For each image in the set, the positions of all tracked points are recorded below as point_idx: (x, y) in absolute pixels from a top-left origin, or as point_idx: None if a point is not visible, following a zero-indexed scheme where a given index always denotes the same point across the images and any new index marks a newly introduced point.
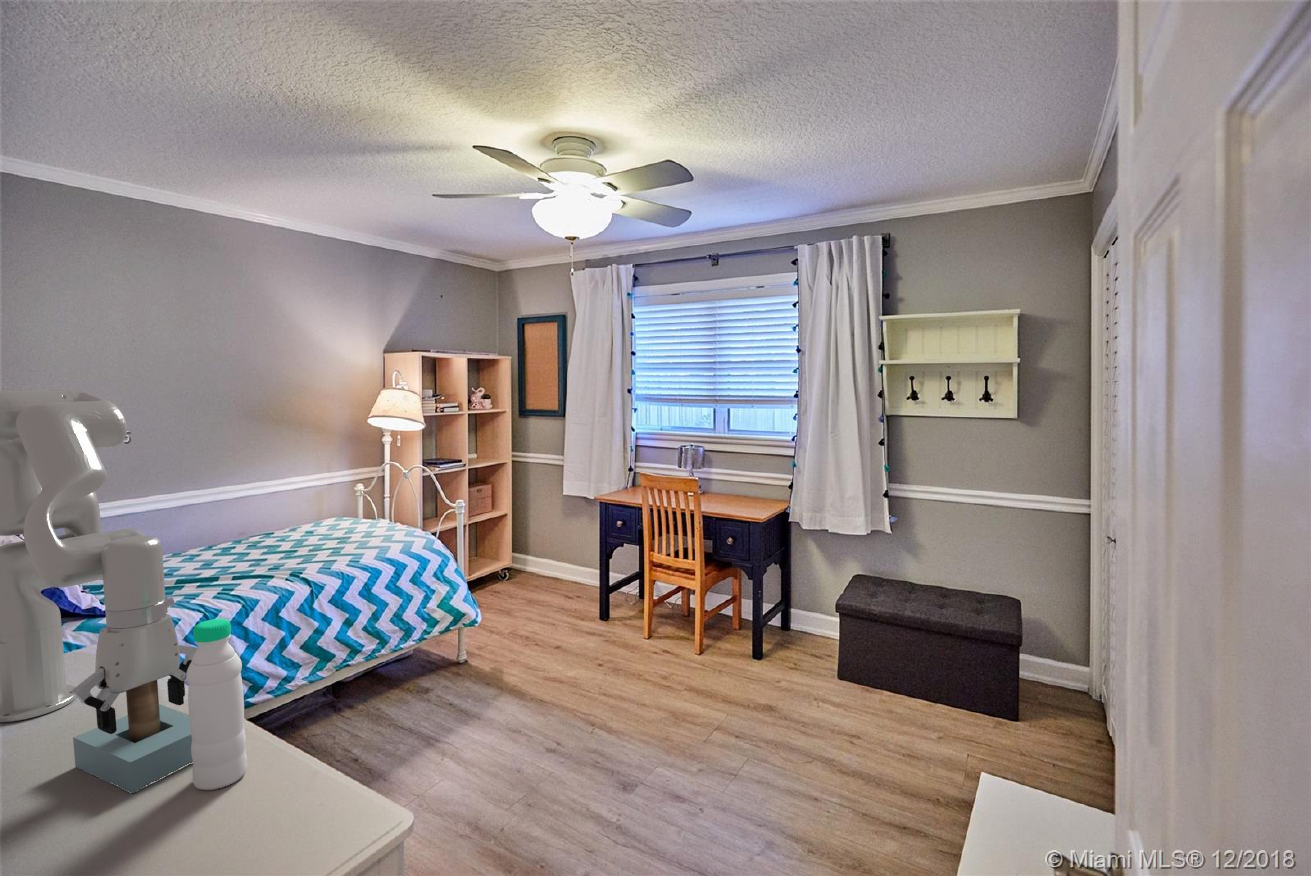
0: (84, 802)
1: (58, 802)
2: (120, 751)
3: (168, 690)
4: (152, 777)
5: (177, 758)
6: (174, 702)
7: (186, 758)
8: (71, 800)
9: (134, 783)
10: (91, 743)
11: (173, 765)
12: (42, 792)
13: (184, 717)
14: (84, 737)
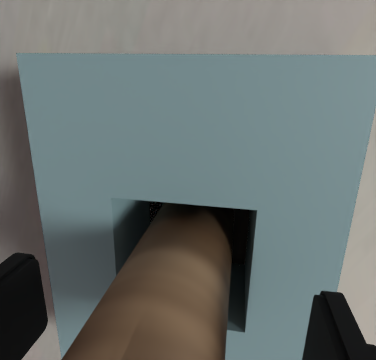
0: (44, 253)
1: (14, 203)
2: (74, 316)
3: (333, 355)
4: None
5: None
6: (307, 344)
7: None
8: (32, 221)
9: None
10: (41, 181)
11: None
12: (3, 122)
13: (308, 314)
14: (42, 102)
